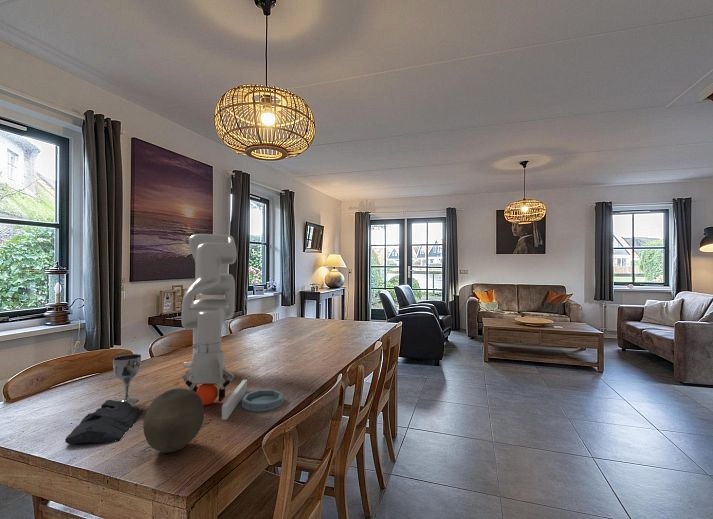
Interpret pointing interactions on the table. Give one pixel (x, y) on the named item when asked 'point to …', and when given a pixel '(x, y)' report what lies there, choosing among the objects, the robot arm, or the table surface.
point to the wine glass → (127, 371)
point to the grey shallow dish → (262, 400)
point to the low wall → (234, 400)
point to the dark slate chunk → (105, 423)
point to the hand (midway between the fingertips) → (208, 399)
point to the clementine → (207, 393)
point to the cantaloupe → (173, 419)
